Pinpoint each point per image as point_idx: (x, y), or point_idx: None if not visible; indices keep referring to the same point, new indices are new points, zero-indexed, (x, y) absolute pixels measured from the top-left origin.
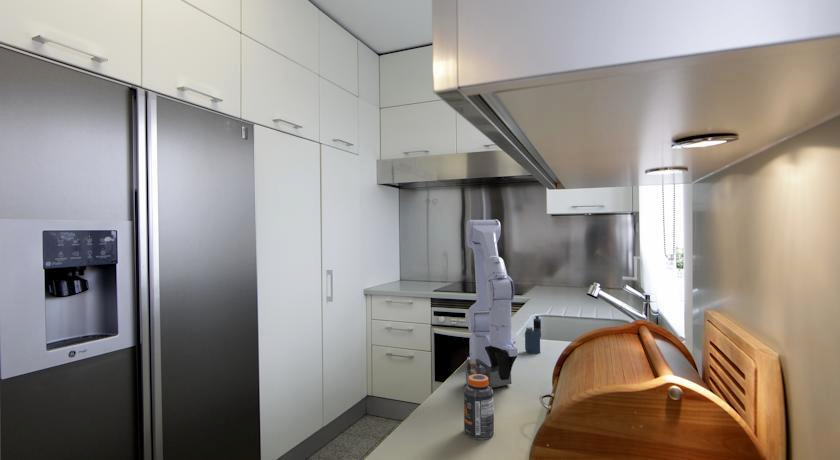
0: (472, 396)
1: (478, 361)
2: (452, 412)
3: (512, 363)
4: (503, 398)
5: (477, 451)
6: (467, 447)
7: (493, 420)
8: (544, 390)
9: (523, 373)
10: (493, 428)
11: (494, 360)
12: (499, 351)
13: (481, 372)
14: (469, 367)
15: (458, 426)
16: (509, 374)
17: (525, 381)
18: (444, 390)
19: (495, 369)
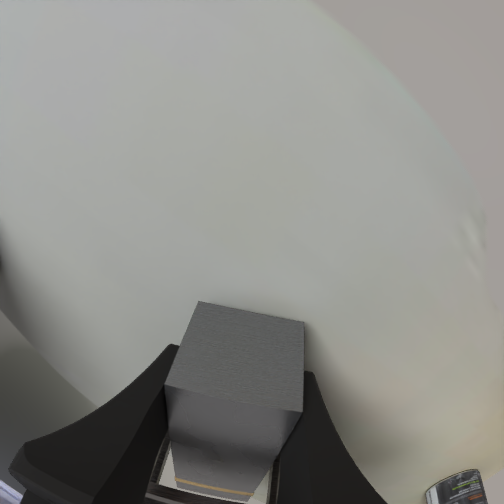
0: None
1: (169, 502)
2: None
3: (356, 474)
4: (388, 408)
5: None
6: None
7: (484, 492)
8: (470, 177)
9: (115, 67)
10: (481, 479)
11: (152, 452)
12: (124, 496)
13: (238, 484)
14: (158, 480)
15: (406, 498)
16: (319, 399)
17: (269, 161)
18: None
19: (241, 453)
